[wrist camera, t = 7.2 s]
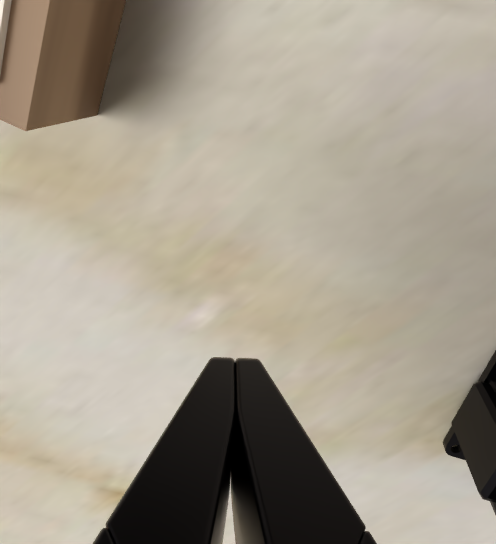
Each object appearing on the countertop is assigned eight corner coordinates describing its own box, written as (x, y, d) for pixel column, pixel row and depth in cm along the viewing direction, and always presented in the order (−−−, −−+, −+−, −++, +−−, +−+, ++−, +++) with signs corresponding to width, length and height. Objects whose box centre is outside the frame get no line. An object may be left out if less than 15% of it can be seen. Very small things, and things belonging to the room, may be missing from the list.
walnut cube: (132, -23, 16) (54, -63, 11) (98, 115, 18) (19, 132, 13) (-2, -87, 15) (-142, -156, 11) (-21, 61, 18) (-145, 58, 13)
